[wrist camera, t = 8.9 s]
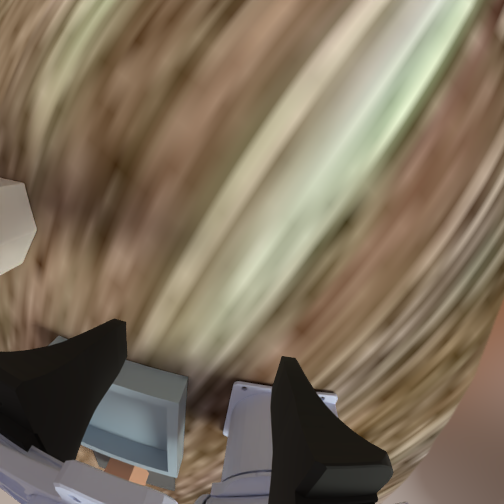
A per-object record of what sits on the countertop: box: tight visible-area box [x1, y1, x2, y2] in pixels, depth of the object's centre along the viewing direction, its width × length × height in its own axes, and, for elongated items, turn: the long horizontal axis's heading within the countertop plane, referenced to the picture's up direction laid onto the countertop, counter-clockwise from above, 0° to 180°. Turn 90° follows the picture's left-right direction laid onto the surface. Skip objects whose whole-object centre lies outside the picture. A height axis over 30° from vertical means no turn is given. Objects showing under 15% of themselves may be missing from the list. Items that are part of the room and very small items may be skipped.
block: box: [104, 458, 149, 486], centre depth 27 cm, size 4×4×6 cm
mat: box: [93, 450, 175, 491], centre depth 30 cm, size 12×10×1 cm
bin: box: [48, 336, 188, 478], centre depth 25 cm, size 14×14×4 cm
